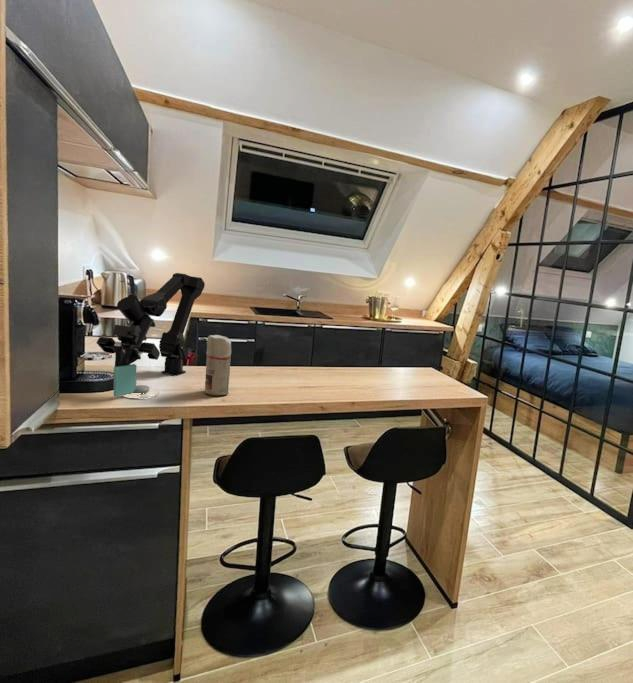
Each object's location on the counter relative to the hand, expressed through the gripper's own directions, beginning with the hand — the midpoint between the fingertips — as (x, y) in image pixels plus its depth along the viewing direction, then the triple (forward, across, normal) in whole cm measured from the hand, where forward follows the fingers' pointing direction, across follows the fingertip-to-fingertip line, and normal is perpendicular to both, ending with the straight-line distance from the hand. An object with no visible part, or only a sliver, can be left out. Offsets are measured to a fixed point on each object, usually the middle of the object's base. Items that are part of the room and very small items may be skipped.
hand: (116, 370), depth 122 cm
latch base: (+2, +5, +10) cm, 11 cm away
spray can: (-5, +26, +18) cm, 32 cm away
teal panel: (+3, +3, +7) cm, 9 cm away
